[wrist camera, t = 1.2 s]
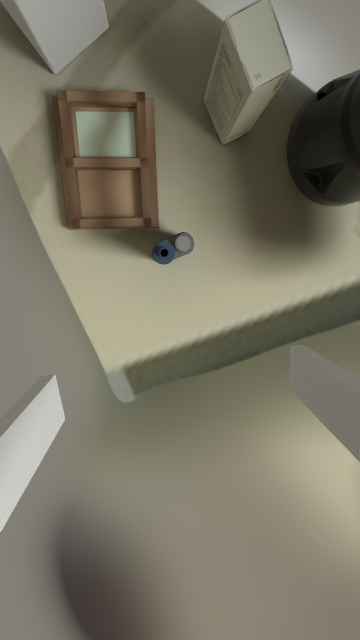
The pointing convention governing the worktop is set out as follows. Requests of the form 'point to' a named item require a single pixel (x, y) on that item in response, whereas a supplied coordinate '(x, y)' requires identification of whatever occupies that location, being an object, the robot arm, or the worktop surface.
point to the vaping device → (172, 248)
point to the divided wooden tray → (107, 159)
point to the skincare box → (246, 70)
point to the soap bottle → (59, 26)
